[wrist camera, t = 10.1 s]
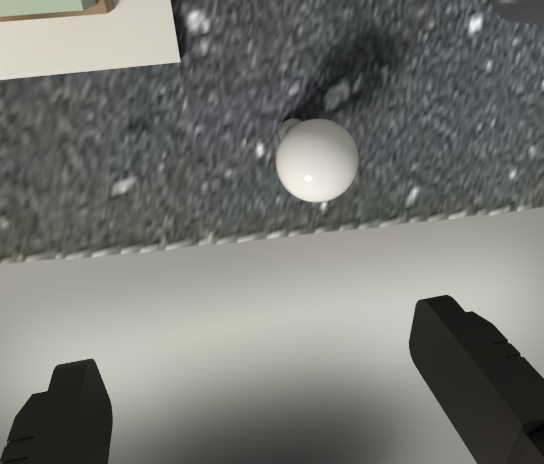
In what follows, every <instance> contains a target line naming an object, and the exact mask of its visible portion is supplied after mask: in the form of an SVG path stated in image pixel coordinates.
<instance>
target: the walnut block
mask: <svg viewBox="0 0 544 464" xmlns="http://www.w3.org/2000/svg"><path fill="white" fill-rule="evenodd" d="M95 2H96V5H95V6H93V7H91V8H88V9H86V10H81V11H68V12H55V13H42V14H29V15H16V16H3V17H0V22H7V21H20V20H32V19H45V18H58V17H70V16H83V15H96V14H107V13H109V12H110V11H112V10H114V9H115V7H114V3H113V0H95Z"/></svg>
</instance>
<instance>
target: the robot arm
mask: <svg viewBox="0 0 544 464" xmlns="http://www.w3.org/2000/svg"><path fill="white" fill-rule="evenodd" d="M490 3H491V5H492V6H493V8H494V10H495V11H496V12H497V13H498V14H499V15H500V16H501V17H503V18H505V19H507V20H509V21H514V22H521V23H529V24H537V25H544V0H490ZM409 349H410V353H411V357H412V360H413V362H414V364H415V366H416V367H417V369H418V371H419V372H420V374H421V376H422V377H423V379H424V380H425V382H426V383H427V385H428V386H429V388H430V390H431V391H432V393H433V394H434V396H435V398H436V399H437V401H438V402H439V404H440V405H441V407H442V408H443V410H444V412H445V413H446V415H447V416H448V418H449V419H450V421H451V423H452V424H453V426H454V428H455V429H456V431H457V432H458V434H459V435H460V437H461V438H462V440H463V442H464V443H465V445H466V446H467V448H468V450H469V451H470V453H471V454H472V456H473V457H474V459H475V461H476V462H477V464H544V378H543V377H542V376H541V375H540V374H539V373H538V372H537V371H536V370H535V369H534V368H533V367H532V366H531V365H530V363H529V362H528V361H527V360H526V359H525V358H524V357H521V356H520V353H519V352H518V351H517V350H516V349H515V347H514V346H512V344H509V343H508V340H507V339H506V338H505V337H504V336H503V335H502V334H501V332H500V331H499V330H498V329H497V328H496V327H495V326H494V325H493V324H492V323H490V322H489V321H487V320H486V319H484V318H482V317H481V316H479V315H478V314H476V313H474V312H465V311H464V310H463V309H462V308H461V306H460V305H459V304H458V303H457V302H456V301H455V300H454V299H453V298H452V297H450V296H448V295H443V296H438V297H433V298H427V299H422V300H419V301H418V302H417V304H416V307H415V312H414V318H413V323H412V329H411V334H410V339H409ZM112 419H113V417H112V406H111V402H110V398H109V396H108V393H107V391H106V388H105V385H104V383H103V380H102V378H101V375H100V372H99V370H98V367H97V365H96V363H95V361H94V360H93V359H87V360H82V361H76V362H71V363H65V364H60V365H57V366H56V367H55V369H54V371H53V374H52V378H51V381H50V384H49V388H48V391H46V392H41V393H36V394H32V396H31V397H30V398H29V399H28V401H27V402H26V404H25V405H24V406H23V407H22V409H21V410H20V411H19V413H18V414H17V415H16V417H15V419H14V422H13V425H12V427H11V431H10V433H9V436H8V439H7V446H6V447H5V448H4V451H3V453H2V457H1V459H0V464H108V458H109V448H110V442H111V433H112V423H113V422H112V421H113V420H112Z"/></svg>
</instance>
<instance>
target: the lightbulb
mask: <svg viewBox="0 0 544 464" xmlns="http://www.w3.org/2000/svg"><path fill="white" fill-rule="evenodd" d="M279 139H280V141H281V142H280V144H279V146H278V149H277V153H276V169H277V173H278V176H279V179H280V181H281V182H282V184H283V185H284V187H285V188H286V189H287V190H288V191H289V192H290V193H291V194H292V195H294V196H295V197H297V198H299V199H301V200H304V201H308V202H325V201H329V200H332V199H334V198H336V197H338V196H339V195H341V194H342V193H344V192H345V191H346V190H347V189H348V188H349V186H350V185H351V184H352V182H353V180H354V178H355V176H356V174H357V170H358V165H359V155H358V149H357V146H356V143H355V141H354V139H353V138H352V136H351V135H350V133H349V132H348V131H347V130H346V129H345V128H343V127H342V126H341V125H339V124H337V123H335V122H333V121H330V120H327V119H309V120H306V121H301V120H300V119H297V118H291V119H288V120H286V121H285V122H283V124H282V125H281V126H280V129H279Z"/></svg>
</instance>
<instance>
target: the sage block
mask: <svg viewBox="0 0 544 464" xmlns="http://www.w3.org/2000/svg"><path fill="white" fill-rule="evenodd" d="M95 5H96V2H95V0H0V17H3V16H16V15H29V14H42V13H55V12H68V11H81V10H86V9H88V8H91V7H93V6H95Z"/></svg>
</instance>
